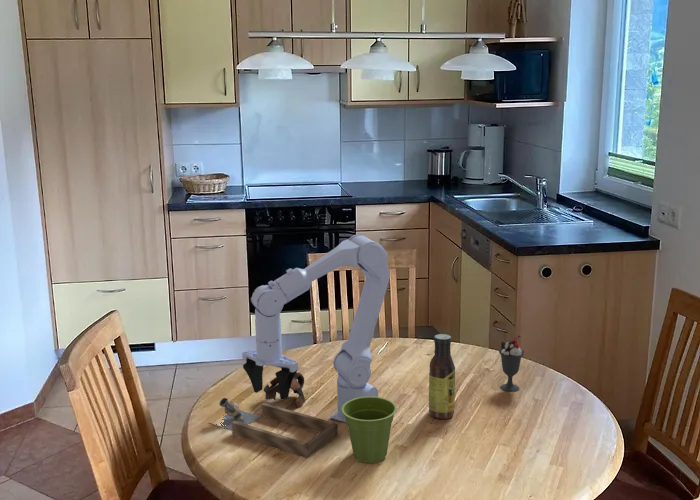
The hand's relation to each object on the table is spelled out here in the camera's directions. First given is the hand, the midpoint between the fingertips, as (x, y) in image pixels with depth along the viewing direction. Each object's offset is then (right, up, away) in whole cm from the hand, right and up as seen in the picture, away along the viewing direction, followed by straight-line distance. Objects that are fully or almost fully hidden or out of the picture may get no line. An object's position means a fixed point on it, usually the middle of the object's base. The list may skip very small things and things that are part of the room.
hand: (271, 394), depth 167 cm
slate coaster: (-10, -8, +8) cm, 15 cm away
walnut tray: (+3, -9, 0) cm, 10 cm away
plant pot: (+22, -12, -9) cm, 27 cm away
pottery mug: (+2, -5, +18) cm, 19 cm away
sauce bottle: (+40, -7, +10) cm, 42 cm away
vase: (-10, -8, +8) cm, 15 cm away
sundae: (+60, -3, +24) cm, 65 cm away
